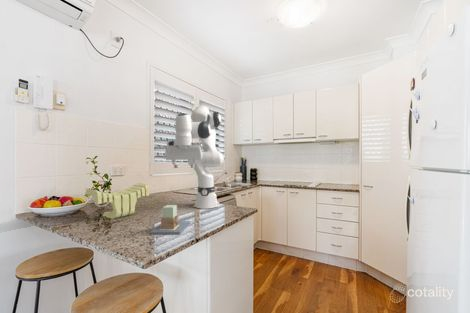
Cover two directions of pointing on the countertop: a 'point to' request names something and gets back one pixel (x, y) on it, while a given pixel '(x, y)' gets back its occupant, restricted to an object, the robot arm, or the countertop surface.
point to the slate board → (177, 230)
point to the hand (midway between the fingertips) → (184, 168)
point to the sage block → (169, 211)
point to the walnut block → (169, 222)
